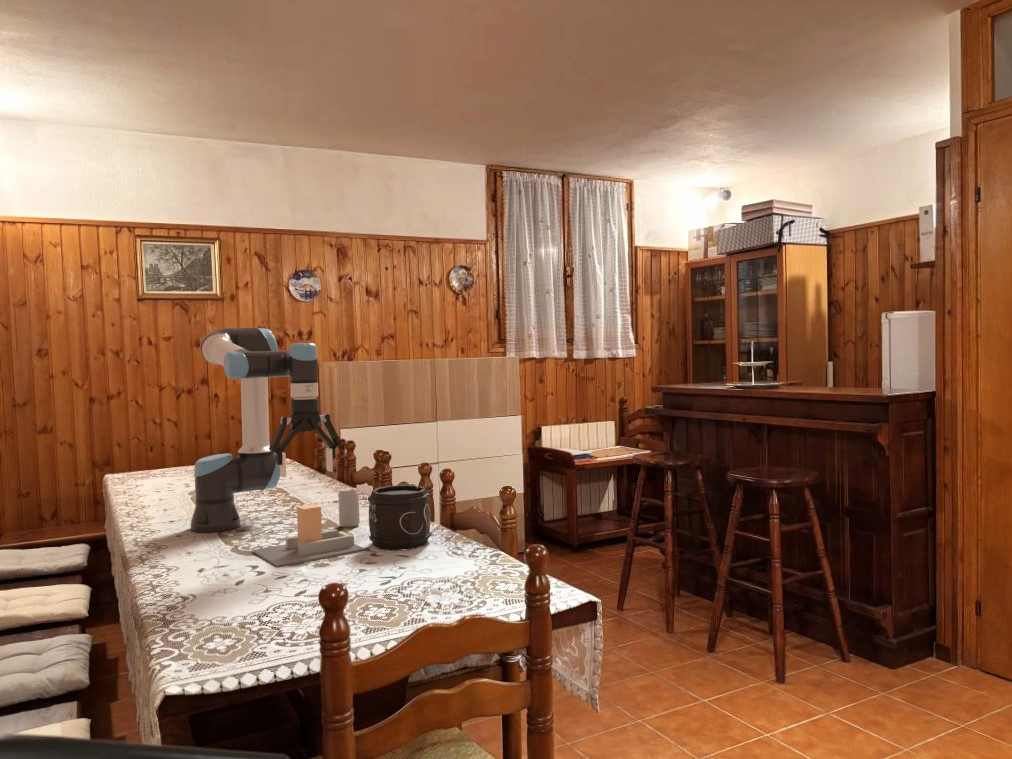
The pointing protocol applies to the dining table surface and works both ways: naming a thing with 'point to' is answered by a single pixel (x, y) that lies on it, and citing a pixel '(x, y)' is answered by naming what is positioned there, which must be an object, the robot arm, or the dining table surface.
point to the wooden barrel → (399, 517)
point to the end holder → (310, 549)
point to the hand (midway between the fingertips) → (306, 473)
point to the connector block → (309, 523)
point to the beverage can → (348, 507)
